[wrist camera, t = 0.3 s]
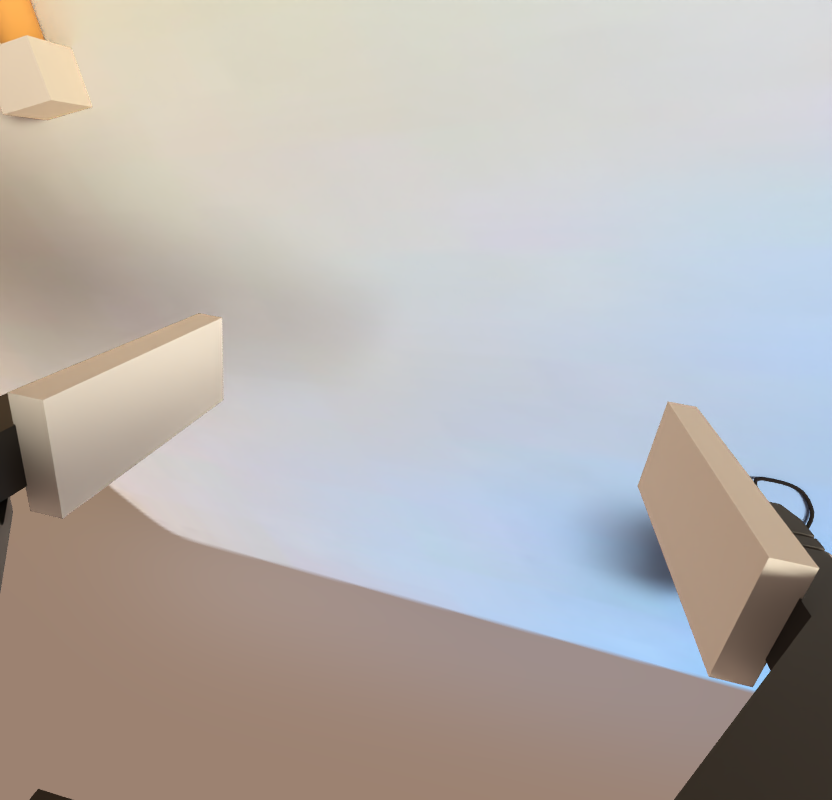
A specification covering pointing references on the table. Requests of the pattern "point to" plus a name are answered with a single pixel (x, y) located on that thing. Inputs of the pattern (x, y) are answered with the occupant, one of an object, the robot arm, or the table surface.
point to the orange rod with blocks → (36, 68)
